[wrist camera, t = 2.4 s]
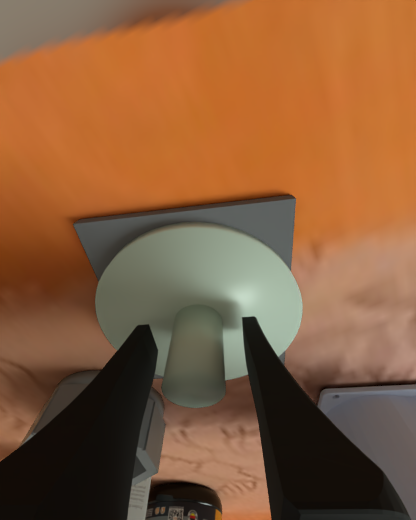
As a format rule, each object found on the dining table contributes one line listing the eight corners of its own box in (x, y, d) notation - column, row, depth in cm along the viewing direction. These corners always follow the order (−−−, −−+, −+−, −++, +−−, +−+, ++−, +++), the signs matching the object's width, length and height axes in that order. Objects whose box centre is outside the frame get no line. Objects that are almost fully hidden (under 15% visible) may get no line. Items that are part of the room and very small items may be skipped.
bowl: (149, 367, 17) (133, 429, 13) (173, 427, 21) (166, 485, 18) (35, 373, 18) (-9, 435, 14) (82, 430, 22) (57, 487, 19)
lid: (306, 208, 10) (366, 261, 6) (291, 366, 15) (317, 447, 12) (67, 234, 11) (-15, 296, 7) (133, 375, 16) (109, 453, 12)
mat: (291, 194, 10) (295, 198, 10) (281, 363, 16) (283, 371, 16) (79, 219, 11) (72, 224, 11) (144, 371, 17) (142, 379, 17)
